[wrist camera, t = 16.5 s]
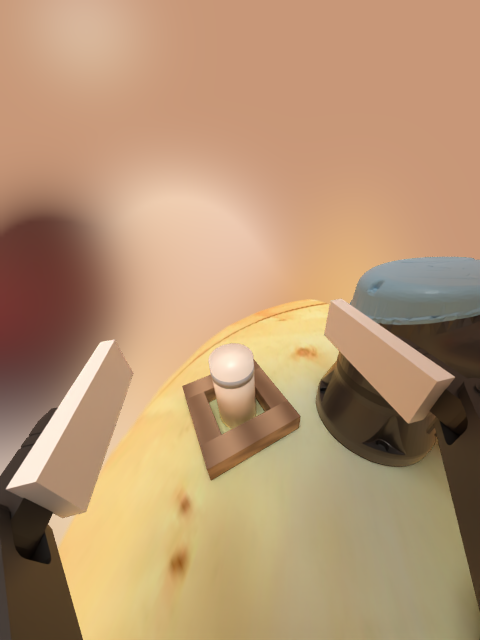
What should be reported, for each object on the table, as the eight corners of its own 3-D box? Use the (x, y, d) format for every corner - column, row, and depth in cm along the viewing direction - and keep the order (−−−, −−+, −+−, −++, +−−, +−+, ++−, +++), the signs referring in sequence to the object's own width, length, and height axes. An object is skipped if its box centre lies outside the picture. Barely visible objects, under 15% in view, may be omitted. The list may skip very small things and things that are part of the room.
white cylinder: (245, 390, 36) (241, 338, 30) (263, 418, 31) (262, 363, 25) (214, 404, 34) (202, 352, 28) (228, 436, 29) (217, 382, 23)
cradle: (253, 368, 41) (252, 357, 39) (298, 427, 30) (300, 416, 28) (186, 397, 36) (182, 386, 34) (211, 480, 25) (207, 469, 23)
